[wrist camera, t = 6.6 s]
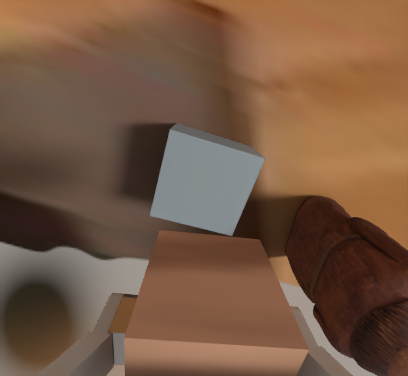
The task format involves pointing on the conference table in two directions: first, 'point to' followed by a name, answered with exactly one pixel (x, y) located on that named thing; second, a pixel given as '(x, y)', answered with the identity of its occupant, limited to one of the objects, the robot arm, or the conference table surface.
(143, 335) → the terracotta cube
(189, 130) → the slate base block
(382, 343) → the wooden figurine
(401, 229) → the conference table surface
